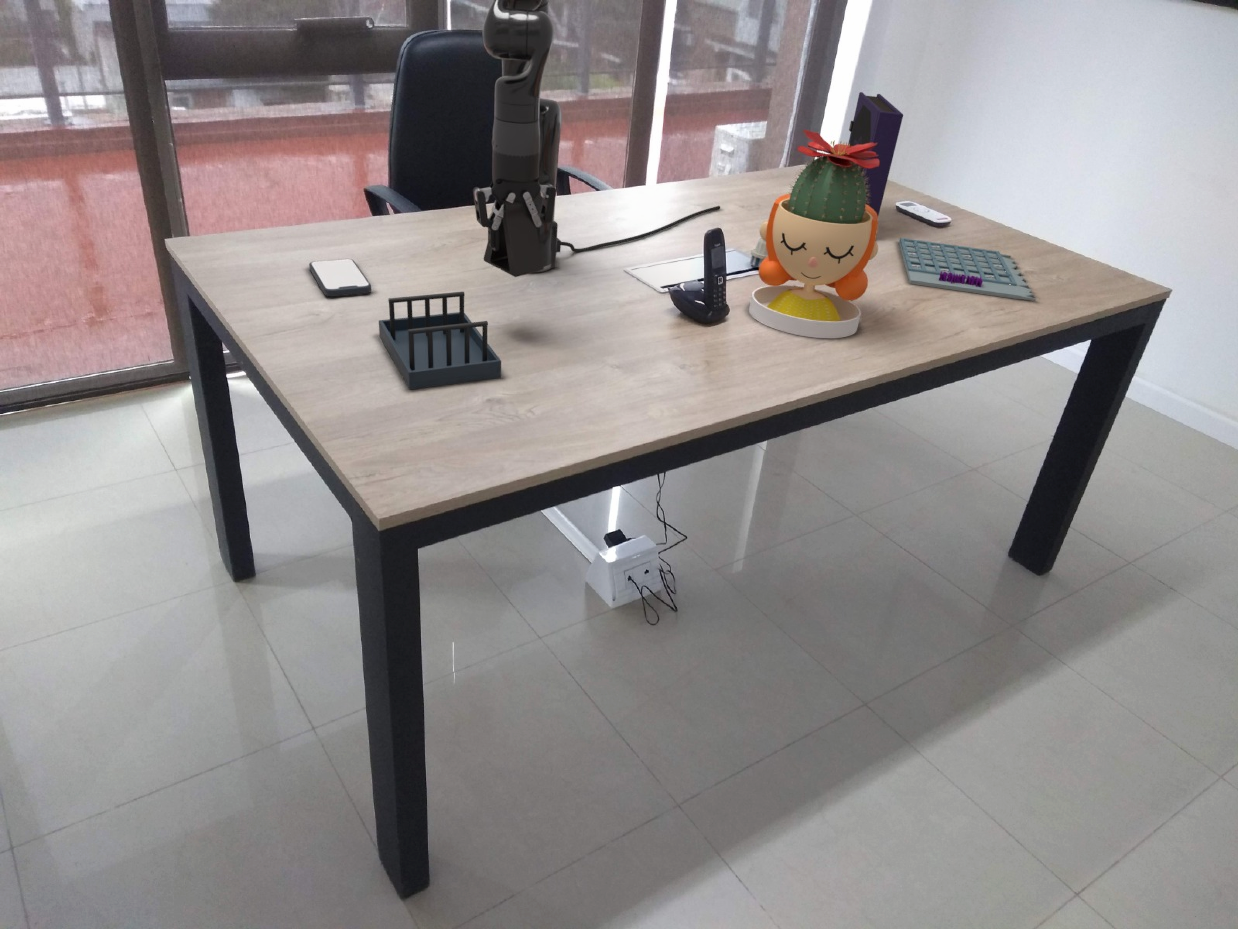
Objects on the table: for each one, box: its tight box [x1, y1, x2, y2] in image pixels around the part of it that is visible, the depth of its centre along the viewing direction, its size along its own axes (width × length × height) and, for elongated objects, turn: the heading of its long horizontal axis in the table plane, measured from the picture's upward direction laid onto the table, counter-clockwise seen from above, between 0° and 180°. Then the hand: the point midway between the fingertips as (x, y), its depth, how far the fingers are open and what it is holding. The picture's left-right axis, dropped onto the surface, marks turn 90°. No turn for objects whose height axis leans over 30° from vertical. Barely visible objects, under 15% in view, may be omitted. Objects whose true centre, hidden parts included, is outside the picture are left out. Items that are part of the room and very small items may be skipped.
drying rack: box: [378, 291, 502, 390], centre depth 150 cm, size 15×20×8 cm
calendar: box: [898, 237, 1037, 302], centre depth 212 cm, size 27×29×2 cm
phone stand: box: [483, 200, 544, 278], centre depth 153 cm, size 9×6×12 cm, turn 44°
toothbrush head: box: [749, 237, 768, 268], centre depth 207 cm, size 5×7×25 cm
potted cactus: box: [748, 129, 879, 339], centre depth 172 cm, size 22×22×35 cm
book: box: [847, 91, 904, 217], centre depth 227 cm, size 24×6×30 cm, turn 179°
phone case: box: [308, 258, 372, 297], centre depth 175 cm, size 9×2×16 cm
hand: (514, 247), depth 155 cm, fingers closed on phone stand, 6 cm apart
